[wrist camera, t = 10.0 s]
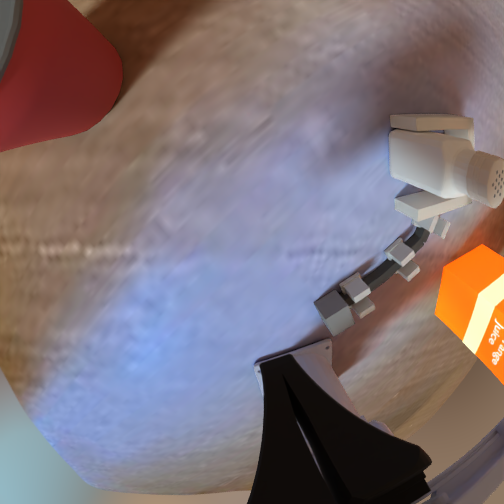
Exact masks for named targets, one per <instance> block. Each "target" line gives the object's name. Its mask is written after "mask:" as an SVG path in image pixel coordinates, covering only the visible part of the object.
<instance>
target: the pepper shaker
mask: <svg viewBox="0 0 504 504" xmlns="http://www.w3.org/2000/svg"><path fill="white" fill-rule="evenodd" d="M389 171H390V174H391V176H392V177H393V178H396V179H398V180H401V181H403V182H406V183H408V184H411V185H413V186H416V187H418V188H421V189H423V190H426V191H428V192H430V193H433V194H435V195H437V196H439V197H442V198H444V199H448V198H457V197H462V196H465V195H468V196H469V198H471V199H474V200H477V201H478V202H481V203H483V204H485V205H487V206H489V207H492V208H496V207H497V206H499V205H500V204H501V202H502V200H503V198H504V160H503V159H502V158H500V157H498V156H494V155H491V154H488V153H485V152H482V151H474V148H473V145H472V143H471V141H470V140H468V139H463V138H459V137H455V136H450V135H446V134H441V133H436V132H431V131H412V130H406V129H395V130H393V131H391V132H390V133H389Z"/></svg>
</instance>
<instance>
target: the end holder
mask: <svg viewBox="0 0 504 504" xmlns="http://www.w3.org/2000/svg"><path fill="white" fill-rule="evenodd" d="M390 124H391V127H393V128H400V129H406V130H412V131H430V130H444V134H446V135H450V136H455V137H459V138H463V139H468V140H470V141H471V143H472V145H473V148H474V123H473V118H470V117H465V116H458V115H452V114H398V115H390ZM471 203H472V199H471V198H469V196H468V195H465V196H462V197H457V198H448V199H444V198H442V197H439V196H437V195H435V194H433V193H430V192H428V191H426V190H425V191H421V192H417V193H413V194H409V195H405V196H402V197H398V198H395V210H397V211H399V212H400V213H402V214H404V215H406V216H408V217H410V218H411V219H413V220H415V221H417V222H419V221H422V220H425V219H428V218H430V217H433V216H436V215H439V214H442V213H445V212H448V211H451V210H454V209H457V208H459V207H462V206H465V205H468V204H471Z"/></svg>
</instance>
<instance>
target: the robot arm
mask: <svg viewBox="0 0 504 504" xmlns="http://www.w3.org/2000/svg"><path fill="white" fill-rule="evenodd" d="M253 368H254V371H255V374H256V377H257V380H258V383H259V386H260V389H261V392H262V395H263V397H264V419H263V434H262V442H261V450H260V456H259V461H258V466H257V471H256V475H255V479H254V483H253V486H252V490H251V493H250V497H249V499H248V502H247V504H416V503H418V502H419V501H421V500H422V499H424V498H426V497H427V496H429V495H430V494H431V498H430V499H429V500H427V501H425V502H424V503H422V504H483V503H484V502H485V501H486V500H487V499H488V497H489V496H490V495H491V494H492V493H493V492H494V491H495V490H496V488H498V486H499V485H500V484H501V483H502V481H504V418H503V419H502V420H501V421H500V422H499V423H498V424H497V425H496V426H495V428H493V429H492V430H491V431H490V432H489V434H487V435H486V436H485V437H484V438H483V439H482V440H481V441H480V442H479V443H478V444H477V445H476V446H475V447H473V448H472V449H471V450H470V451H469V452H468V453H466V454H465V455H464V456H463V457H461V458H460V459H459V460H458V461H456V462H455V463H454V464H453V465H451V466H450V467H449V468H447V469H446V470H445V471H443V472H442V473H441V474H439V475H438V476H436V477H435V478H434V479H432V480H430V481H429V482H428V483H426V481H425V479H424V478H425V477H426V476H425V474H424V472H423V471H424V470H425V469H426V468H427V467H428V466H429V465H431V463H432V461H431V459H430V457H429V456H428V455H427V454H426V453H425V451H424V450H423V449H421V448H420V447H419V446H418V445H415V444H412V443H409V442H407V441H404V440H401V439H399V438H397V437H394V435H393V434H392V432H391V431H390V429H389V428H388V427H387V426H386V425H385V424H384V423H383V422H378V421H376V420H373V421H371V422H369V423H368V422H367V421H366V419H365V417H364V416H361V417H360V415H359V413H358V412H357V410H356V408H355V407H354V405H353V403H352V401H351V400H350V398H349V396H348V395H347V393H346V391H345V389H344V388H343V386H342V384H341V382H340V381H339V379H338V377H337V376H336V374H335V372H334V371H333V369H332V341H331V340H330V339H325V340H322V341H320V342H317V343H314V344H311V345H309V346H306V347H303V348H300V349H298V350H295V351H292V352H289V353H286V354H283V355H280V356H277V357H274V358H271V359H268V360H264V361H261V362H258V363H256V364H254V366H253Z"/></svg>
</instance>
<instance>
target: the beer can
mask: <svg viewBox="0 0 504 504" xmlns="http://www.w3.org/2000/svg"><path fill="white" fill-rule="evenodd" d="M122 79H123V70H122V61H121V59H120V57H119V55H118V53H117V51H116V49H115V48H114V47H113V45H112V44H111V43H110V42H109V41H108V40H107V39H106V38H105V37H104V36H103V35H102V34H101V33H100V32H99V31H98V30H97V29H96V28H95V27H94V26H93V25H92V24H91V23H90V22H89V21H88V20H87V19H86V18H85V17H84V16H83V15H82V14H81V13H80V12H79V11H78V10H77V9H76V8H75V7H74V6H73V5H72V4H71V3H70V2H69V1H68V0H0V152H3V151H6V150H10V149H13V148H17V147H21V146H25V145H29V144H33V143H38V142H42V141H47V140H51V139H56V138H61V137H67V136H72V135H75V134H78V133H81V132H84V131H87V130H88V129H90V128H91V127H93V126H94V125H95V124H97V123H98V122H100V121H101V120H102V119H103V117H104V116H105V115H106V114H107V113H108V112H109V111H110V109H111V108H112V107H113V105H114V103H115V101H116V99H117V97H118V95H119V93H120V88H121V84H122Z"/></svg>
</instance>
